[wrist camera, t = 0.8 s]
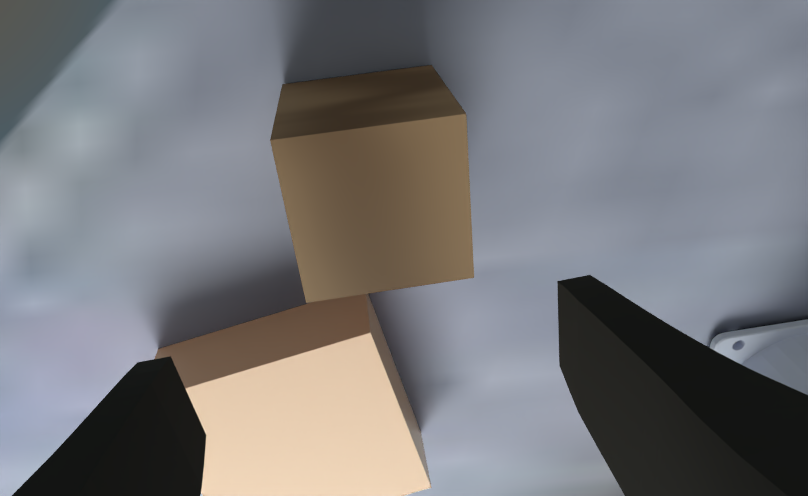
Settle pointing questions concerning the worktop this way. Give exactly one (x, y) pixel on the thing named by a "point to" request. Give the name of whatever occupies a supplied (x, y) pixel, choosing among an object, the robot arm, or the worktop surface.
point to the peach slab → (303, 405)
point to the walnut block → (374, 182)
